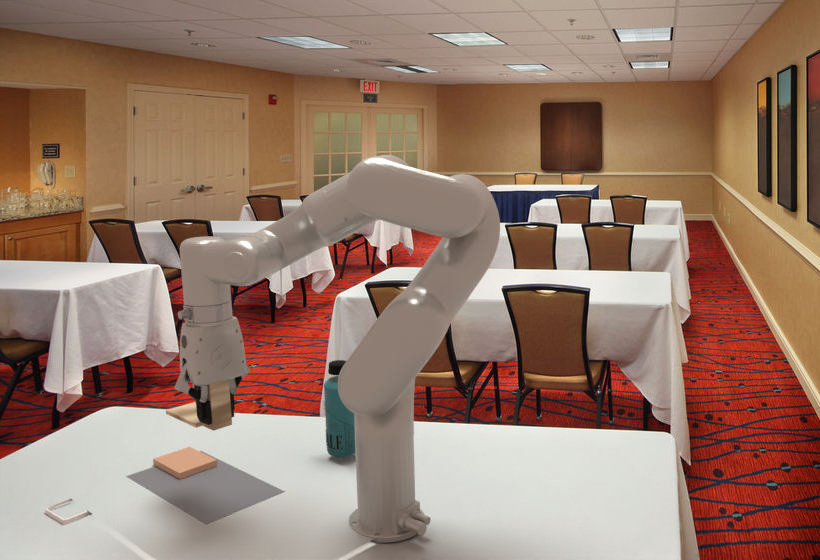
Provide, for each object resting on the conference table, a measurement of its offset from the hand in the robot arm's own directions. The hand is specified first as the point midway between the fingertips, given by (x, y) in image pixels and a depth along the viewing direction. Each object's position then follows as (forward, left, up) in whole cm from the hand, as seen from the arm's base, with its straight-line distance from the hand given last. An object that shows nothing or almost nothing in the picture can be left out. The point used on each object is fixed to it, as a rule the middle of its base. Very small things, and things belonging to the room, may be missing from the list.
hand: (216, 418), depth 133 cm
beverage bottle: (+2, -29, -17) cm, 34 cm away
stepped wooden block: (+5, 0, -1) cm, 5 cm away
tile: (+16, -5, -15) cm, 23 cm away
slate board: (+11, -3, -17) cm, 21 cm away
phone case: (+21, +13, -18) cm, 30 cm away
